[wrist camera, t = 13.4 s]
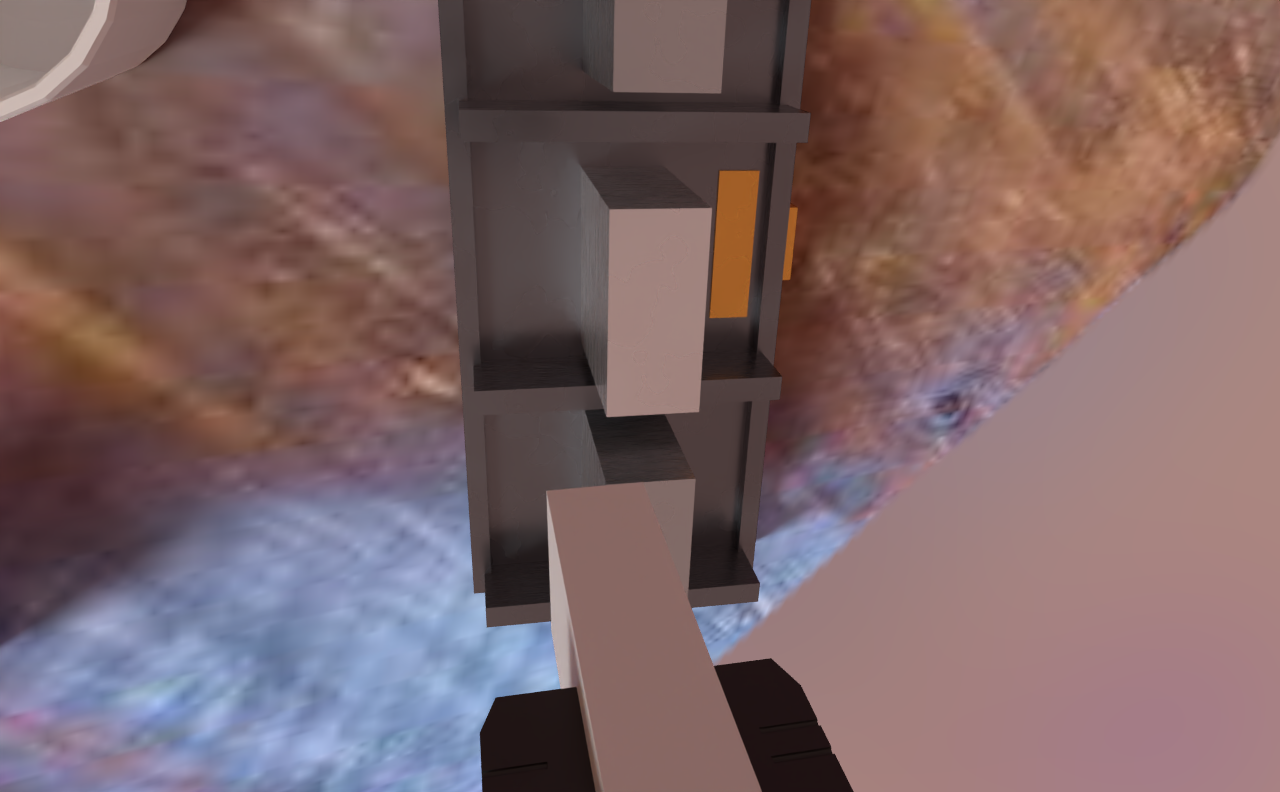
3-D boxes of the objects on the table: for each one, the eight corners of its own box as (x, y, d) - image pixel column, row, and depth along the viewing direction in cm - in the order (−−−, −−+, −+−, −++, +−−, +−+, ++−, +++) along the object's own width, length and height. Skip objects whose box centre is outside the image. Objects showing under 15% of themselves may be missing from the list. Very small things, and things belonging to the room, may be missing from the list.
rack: (425, -237, 28) (411, -319, 20) (830, -205, 30) (949, -268, 23) (473, 569, 40) (476, 697, 33) (753, 546, 43) (813, 660, 36)
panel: (581, 167, 32) (609, 209, 26) (664, 166, 33) (712, 208, 27) (581, 341, 35) (606, 417, 29) (658, 338, 36) (698, 412, 30)
